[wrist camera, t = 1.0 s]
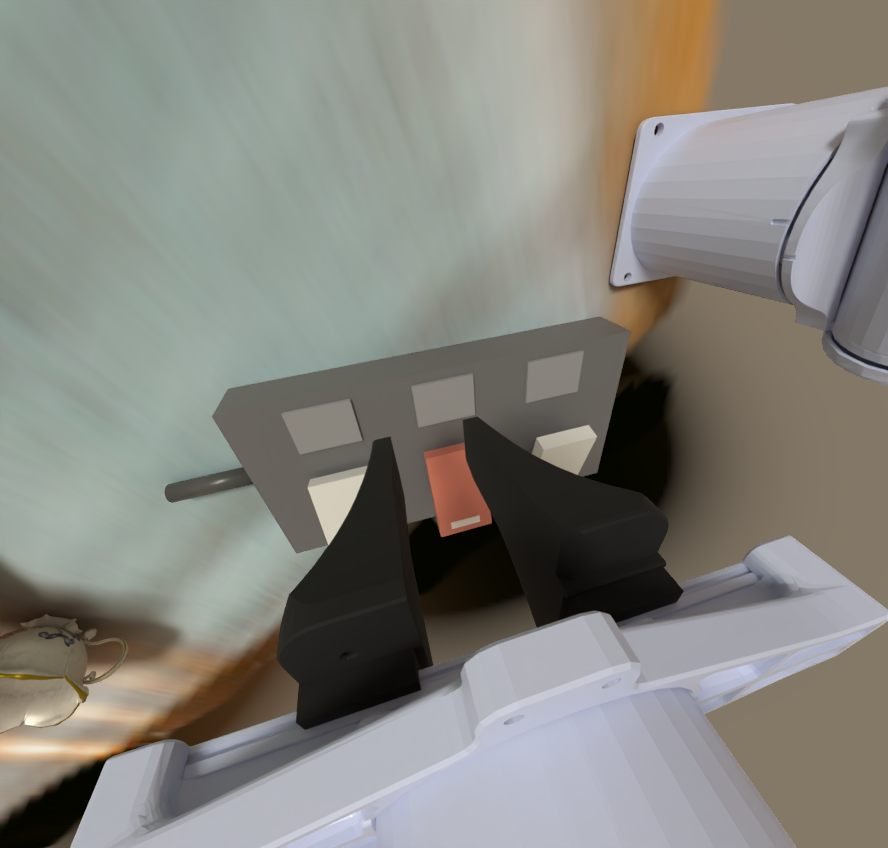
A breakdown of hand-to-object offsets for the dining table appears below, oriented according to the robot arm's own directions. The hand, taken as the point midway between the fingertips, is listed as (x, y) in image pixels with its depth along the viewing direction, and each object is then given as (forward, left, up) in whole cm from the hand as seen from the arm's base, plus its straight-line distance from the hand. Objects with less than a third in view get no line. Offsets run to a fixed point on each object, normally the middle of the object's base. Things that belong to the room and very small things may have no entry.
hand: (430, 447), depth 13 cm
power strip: (+1, +6, -9) cm, 11 cm away
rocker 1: (+5, +8, -6) cm, 11 cm away
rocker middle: (-2, +8, -6) cm, 10 cm away
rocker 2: (-9, +8, -6) cm, 13 cm away
